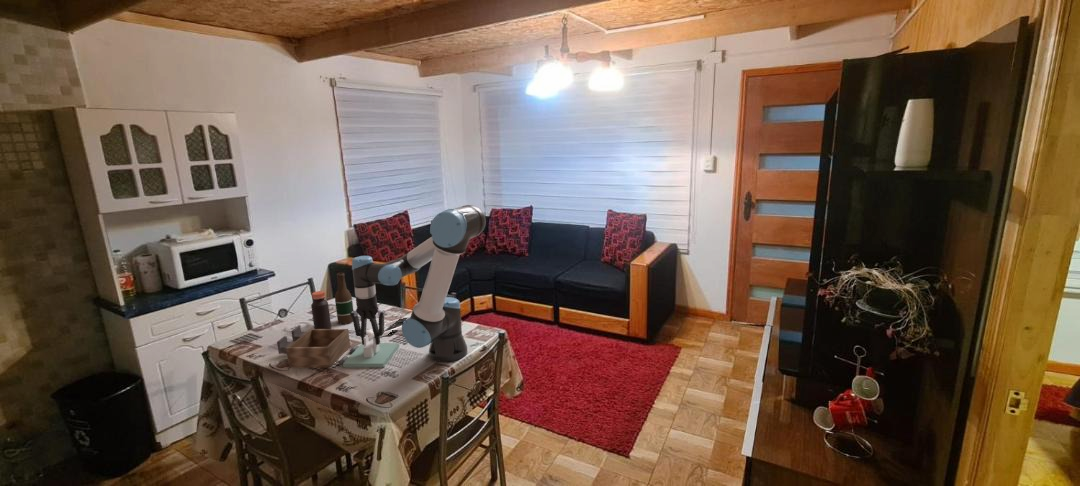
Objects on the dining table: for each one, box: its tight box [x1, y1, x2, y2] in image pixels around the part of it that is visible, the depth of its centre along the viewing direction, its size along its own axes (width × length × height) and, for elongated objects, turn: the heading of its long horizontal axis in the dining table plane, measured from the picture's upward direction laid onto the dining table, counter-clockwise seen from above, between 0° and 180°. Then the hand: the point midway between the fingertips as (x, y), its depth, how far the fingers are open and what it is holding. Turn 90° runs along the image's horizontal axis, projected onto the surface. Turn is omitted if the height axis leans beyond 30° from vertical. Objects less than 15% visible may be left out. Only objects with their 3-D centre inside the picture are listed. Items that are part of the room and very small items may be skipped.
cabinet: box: [276, 325, 351, 369], centre depth 187 cm, size 20×18×10 cm
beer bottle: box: [334, 272, 354, 325], centre depth 221 cm, size 8×8×24 cm
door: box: [338, 339, 400, 368], centre depth 187 cm, size 18×18×6 cm
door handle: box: [366, 316, 411, 341], centre depth 213 cm, size 3×10×25 cm
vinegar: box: [310, 290, 332, 329], centre depth 206 cm, size 7×7×20 cm
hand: (372, 351), depth 187 cm, fingers closed on door, 3 cm apart
